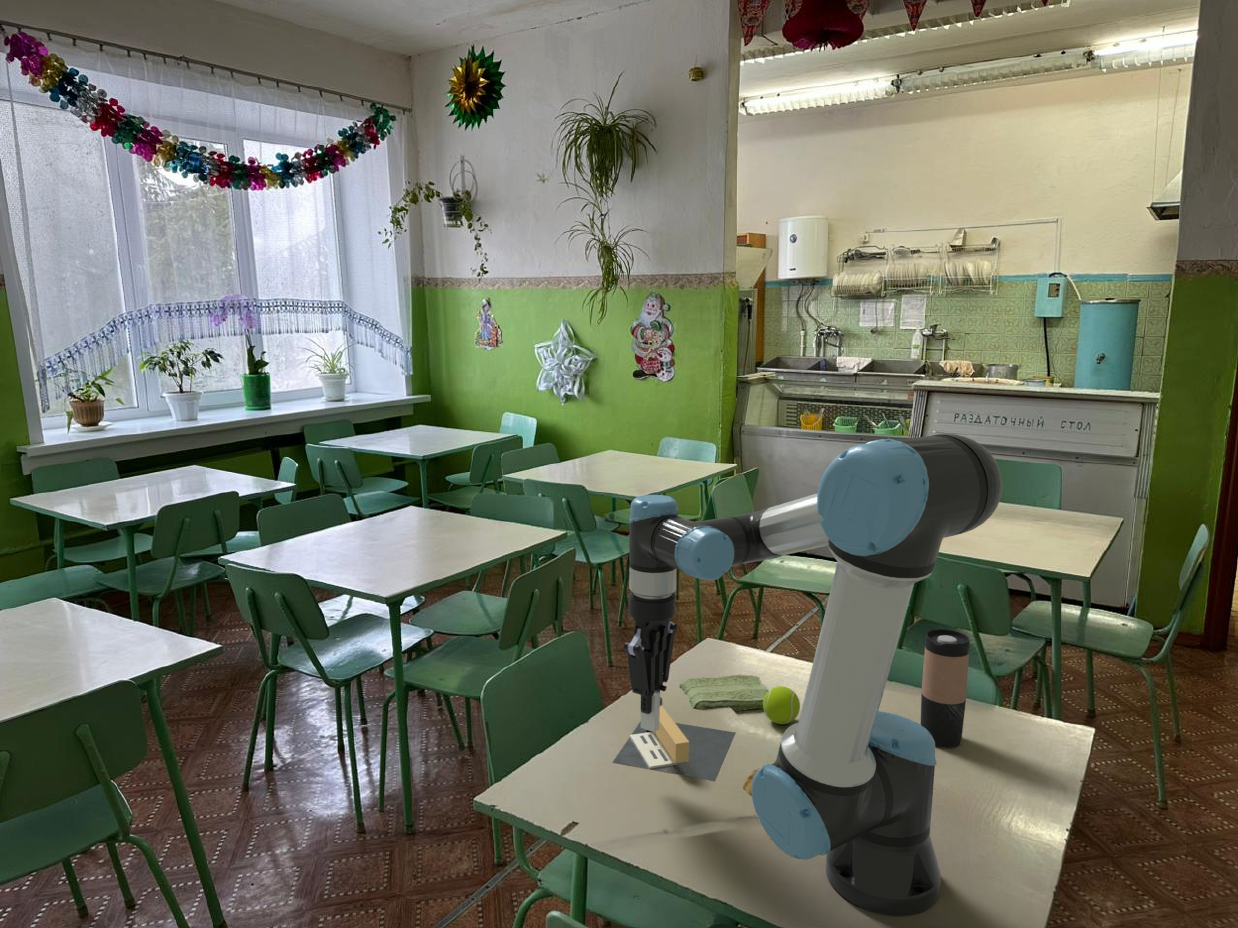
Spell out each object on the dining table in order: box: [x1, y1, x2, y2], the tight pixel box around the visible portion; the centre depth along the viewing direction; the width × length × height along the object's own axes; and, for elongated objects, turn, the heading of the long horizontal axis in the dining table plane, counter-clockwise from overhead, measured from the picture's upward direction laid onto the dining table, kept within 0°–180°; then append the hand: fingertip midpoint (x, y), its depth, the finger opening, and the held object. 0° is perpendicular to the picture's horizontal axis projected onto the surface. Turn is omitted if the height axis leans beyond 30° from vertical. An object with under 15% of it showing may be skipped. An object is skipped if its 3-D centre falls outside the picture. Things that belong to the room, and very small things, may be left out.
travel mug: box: [920, 628, 971, 749], centre depth 153 cm, size 8×8×20 cm
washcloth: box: [679, 674, 769, 712], centre depth 172 cm, size 13×18×3 cm
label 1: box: [629, 732, 663, 753], centre depth 151 cm, size 6×5×1 cm
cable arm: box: [655, 696, 689, 763], centre depth 149 cm, size 18×4×4 cm, turn 16°
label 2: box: [640, 746, 677, 770], centre depth 146 cm, size 6×5×1 cm
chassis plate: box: [612, 720, 736, 782], centre depth 150 cm, size 18×18×3 cm
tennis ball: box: [762, 685, 801, 725], centre depth 161 cm, size 7×7×7 cm
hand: (649, 727), depth 138 cm, fingers closed
